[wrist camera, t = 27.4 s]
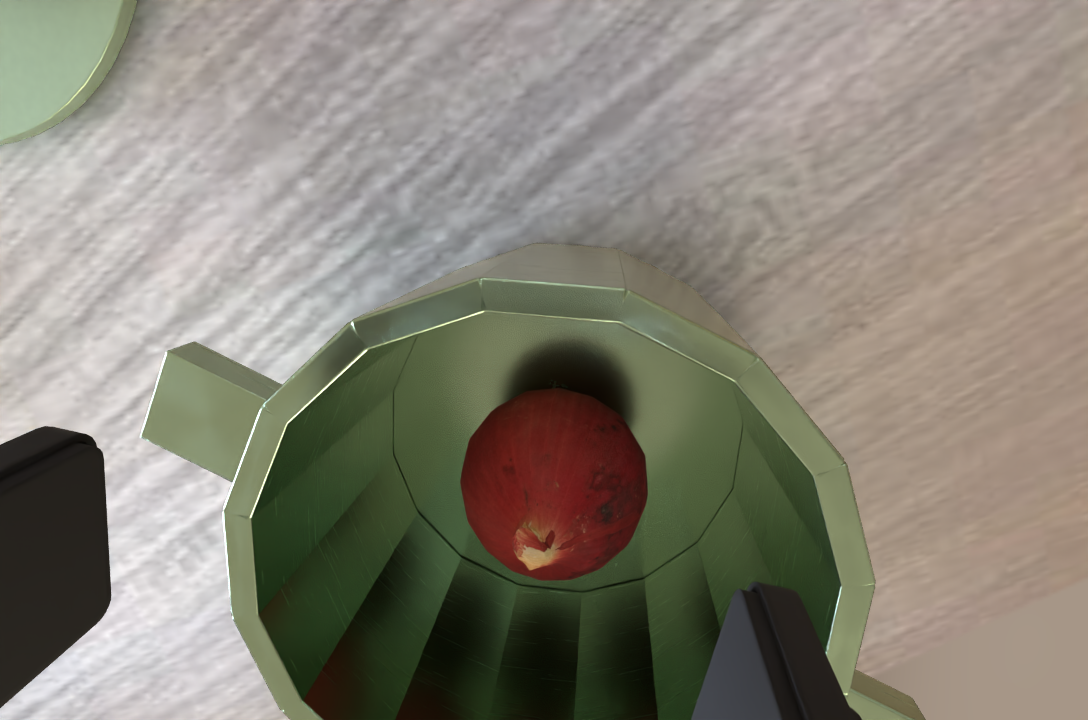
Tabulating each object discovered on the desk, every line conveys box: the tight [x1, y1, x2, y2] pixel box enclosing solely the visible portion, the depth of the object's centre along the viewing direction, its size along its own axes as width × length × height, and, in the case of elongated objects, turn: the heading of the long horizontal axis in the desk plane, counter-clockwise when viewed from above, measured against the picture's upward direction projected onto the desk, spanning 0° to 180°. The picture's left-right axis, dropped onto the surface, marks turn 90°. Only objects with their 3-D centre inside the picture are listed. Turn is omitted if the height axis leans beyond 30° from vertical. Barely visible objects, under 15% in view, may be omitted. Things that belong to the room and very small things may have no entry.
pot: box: [140, 243, 925, 720], centre depth 18 cm, size 14×20×10 cm
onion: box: [460, 388, 648, 581], centre depth 19 cm, size 6×6×8 cm
